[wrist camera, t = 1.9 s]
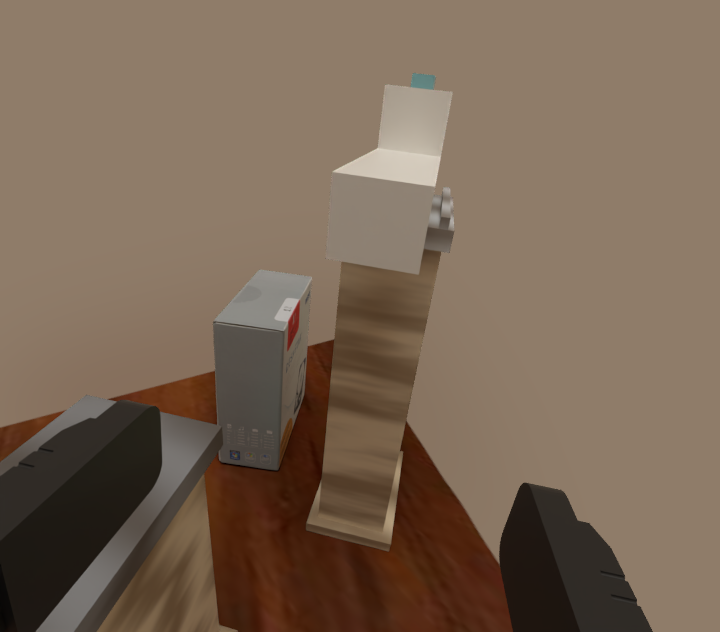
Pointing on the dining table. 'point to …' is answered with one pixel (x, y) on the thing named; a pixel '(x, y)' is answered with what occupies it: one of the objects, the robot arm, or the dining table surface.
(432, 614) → the dining table surface
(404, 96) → the breaker module
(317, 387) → the dining table surface
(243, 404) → the hard drive box
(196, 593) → the lower stand
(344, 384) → the stand
